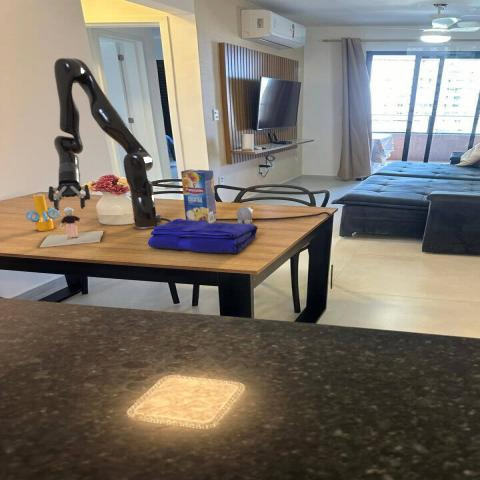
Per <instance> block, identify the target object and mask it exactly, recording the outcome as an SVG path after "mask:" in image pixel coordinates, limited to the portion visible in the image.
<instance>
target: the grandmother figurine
mask: <svg viewBox="0 0 480 480" xmlns="http://www.w3.org/2000/svg"><path fill="white" fill-rule="evenodd" d="M74 212H75V210H74V208H72V207H70V206H67V207H65V208H64V209H63V214H65V216H63V218H62V219H61V221H60V224H59V227H60V228H63V227H64V225H65V232H66V233H65V234H67V240H69V239H72V237H73V238H79V236H78V233H79V232H78V226H77V222H78V223H79V224H82V223H83V220H81V217H79V216H77V215H74Z"/></svg>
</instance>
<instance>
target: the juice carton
mask: <svg viewBox="0 0 480 480" xmlns="http://www.w3.org/2000/svg"><path fill="white" fill-rule="evenodd" d="M180 175H181V185H182V197H183V205H184V215H185V220H195V221H205V222H207V223H216V222H217V221H216V219H217V205H216V193H215V192H216V191H215V178H214V170H210V169H209V170H208V169H195V168H194V169H191V168H190V169H185V170H182V171H180Z"/></svg>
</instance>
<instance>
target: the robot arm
mask: <svg viewBox="0 0 480 480" xmlns="http://www.w3.org/2000/svg"><path fill="white" fill-rule="evenodd" d="M53 71H54V79H55V85H56V92H57V97H58V104H59V130H60V131H61V132H63V133H66V134H68V135H71V136H66V135H58V136H56V137H55V138H54V140H53V146H54V149H55V151H56V153H57V155H58V185H57V187H54V186H53V185H52V186H51V185H50V186H49V187H48V195H47V198H48V200H49V202H50V203H52V202H53V208H54V209H55V210H57V211H60V201H61V200H63V199H64V198H75V197H77V198H78V199H80V200H79V201H80V203H79V205H80V209H81V210H82V209H84V208H86V201H88V200H91V193H90V192H91V191H90V187H89V185H88V184H84V185H81V171H80V160H79V156H77V155H79V154H81V153H82V152H83V150H84V144H83V141H82V137H81V133H80V120H81V119H80V111H79V108H78V106H77V104H76V102H75V100H74V97H73V85H74V84H77V85H79V87H80V88H81V89H82V90H83V92H84V93H85V95H86V96H87V99H88V104H89V110H90V114H91V116H92V118H93V120H94V122H95V123H96V124H97V125H98V127H99V128H100V129H101V130H102V131H103V132H104V133H105V134H106V135H107V136H108V137H109V138H111V139H112V140H114V141H115V142H116V143H117V144H119V146H121V148H122V149H123V150H124V151H125V153H126V154H125V156H124V158H123V170H124V175H125V180H126V184H127V185H128V187H129V194H130V199H131V207H132V214H133V218H132V219H133V222H134V223H133V224H134V229H137V230H149V229H154V228H155V227H157V226H159V225H158V224H160V223H162V221H164V222H167V223H168V222H170V221H172V220H171V219H168V218H165V217H162V215H161V214H157V210H156V209H157V208H156V203H155V194H154V185H153V182H152V181H151V180H149V178H148V174H147V172H149V171H151V170H152V168H153V167H154V161H153V158H152V156H151V154H150V153H149V152H148V151H147V150H146V148H144V147H143V145H142V144H141V143H140V142H139V141H138V139H137V138H136V137H135V135H134V134H133V132H132V131H131V130H130V129H131V128H129V126H128V125H127V124H126V123H125V120H124V119H123V118H122V116H121V115H120V113H119V112H118V111H117V109H116V108H115V107H114V105H113V104H112V103H111V101H110V100H109V98H108V97H107V96H106V94H105V93H104V91H103V90H102V88H101V87H100V85H99V83H98V82H97V80H96V78H95V76H94V75H93V73H92V71H91V70H90V68H89V66H88V65H87V64H86V63H85V62H84V61H83V60H81V59H79V58H76V57H73V58H70V57H60V58H58V59H56V60H55V62H54V64H53ZM82 190H83V192H85V193H84V194H85V195H83V194H82V193H81V192H82ZM56 192H57V193H56ZM55 194H56V195H55ZM324 214H325V215H328V216H331V213H330V212H328V211H322V212H318V213H313V214H305V215H293V216H283V217H282V216H281V217H258V218H257V217H255V218H254V217H252V218H251V219H252V221H278V220H290V219H291V220H293V219H301V218H310V217H317V216H321V215H324ZM217 221H218V222H220V221H221V222H222V221H238V218H216V221H215V222H217ZM333 271H334V264H331V265H330V290H333V275H334V274H333V273H334V272H333Z"/></svg>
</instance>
